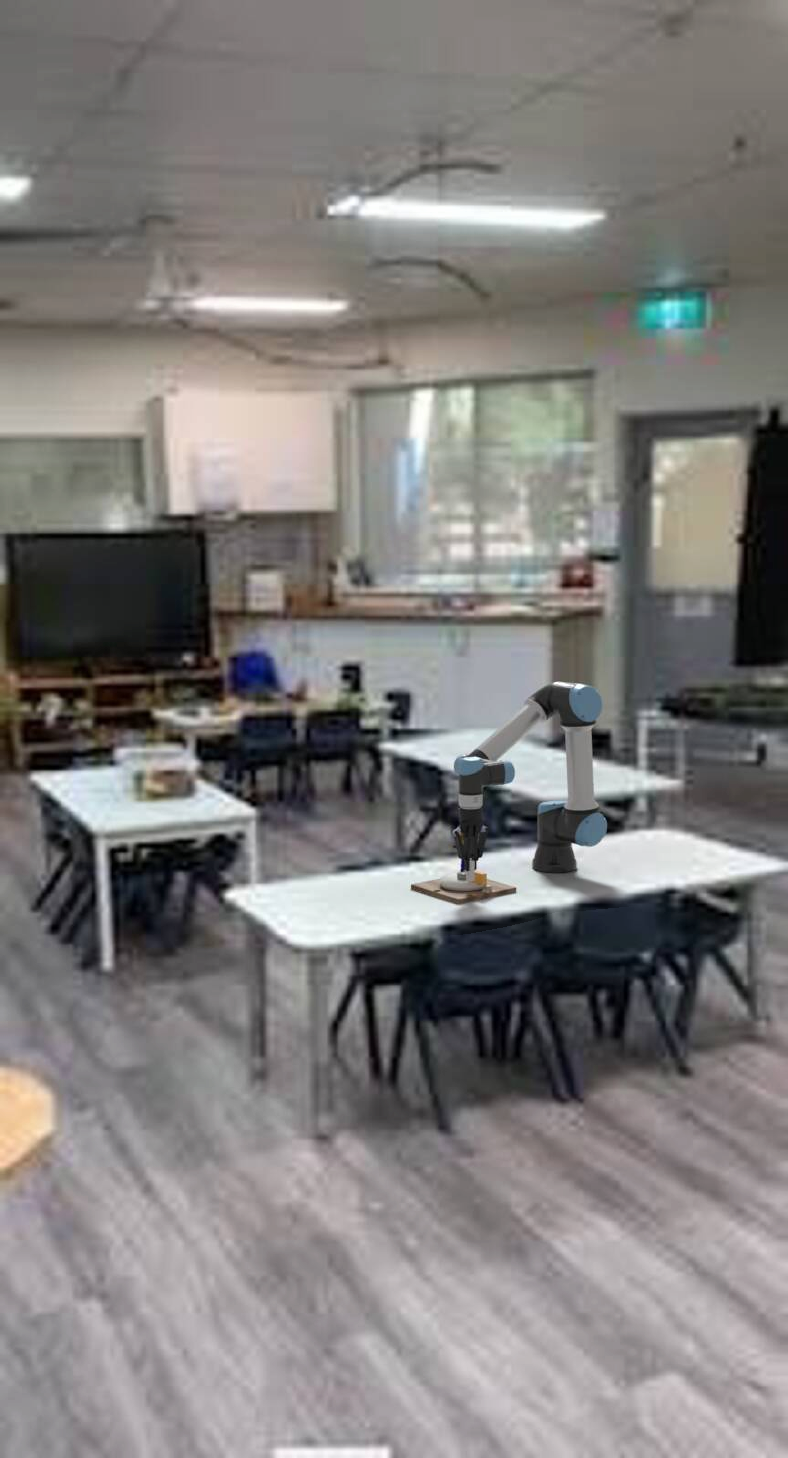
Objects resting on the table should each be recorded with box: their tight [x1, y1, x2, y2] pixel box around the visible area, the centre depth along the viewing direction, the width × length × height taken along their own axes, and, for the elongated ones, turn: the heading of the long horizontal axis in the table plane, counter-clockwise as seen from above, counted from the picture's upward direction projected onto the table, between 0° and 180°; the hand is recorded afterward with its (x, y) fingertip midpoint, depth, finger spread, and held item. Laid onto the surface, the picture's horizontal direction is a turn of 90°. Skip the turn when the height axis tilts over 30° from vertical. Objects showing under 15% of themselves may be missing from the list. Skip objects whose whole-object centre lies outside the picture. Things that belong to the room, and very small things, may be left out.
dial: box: [439, 869, 488, 891], centre depth 461 cm, size 18×15×6 cm
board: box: [410, 878, 517, 905], centre depth 462 cm, size 24×24×4 cm
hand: (470, 880), depth 454 cm, fingers closed
